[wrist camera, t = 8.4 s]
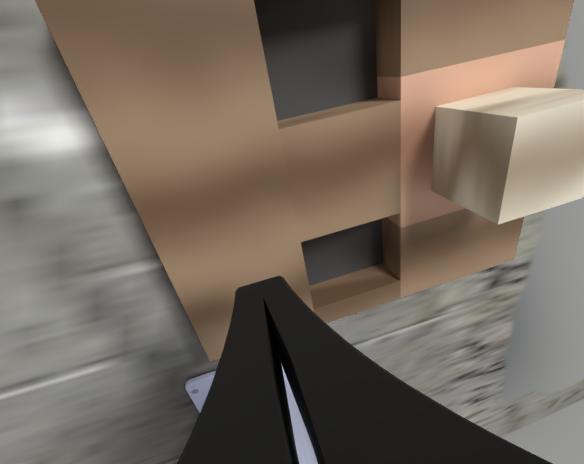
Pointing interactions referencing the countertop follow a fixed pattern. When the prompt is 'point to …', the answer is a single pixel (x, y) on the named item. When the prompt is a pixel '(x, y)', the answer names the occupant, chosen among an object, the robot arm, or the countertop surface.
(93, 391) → the countertop surface
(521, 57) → the trap deck
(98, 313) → the countertop surface
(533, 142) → the block
